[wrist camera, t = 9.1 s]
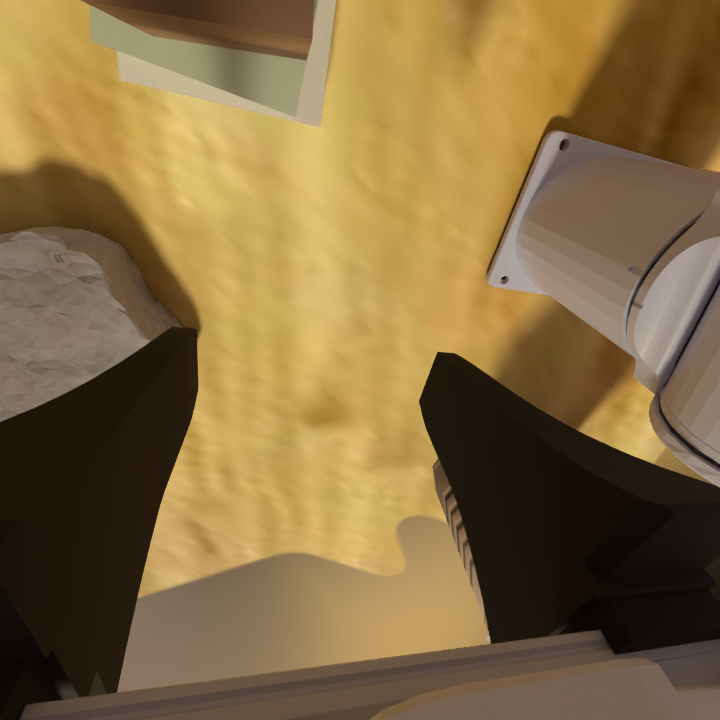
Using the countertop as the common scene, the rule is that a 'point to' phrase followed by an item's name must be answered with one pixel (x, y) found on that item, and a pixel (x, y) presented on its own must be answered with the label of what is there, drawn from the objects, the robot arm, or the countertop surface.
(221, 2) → the walnut block
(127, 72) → the grey base block
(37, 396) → the stone block
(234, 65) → the sage top block
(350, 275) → the countertop surface
